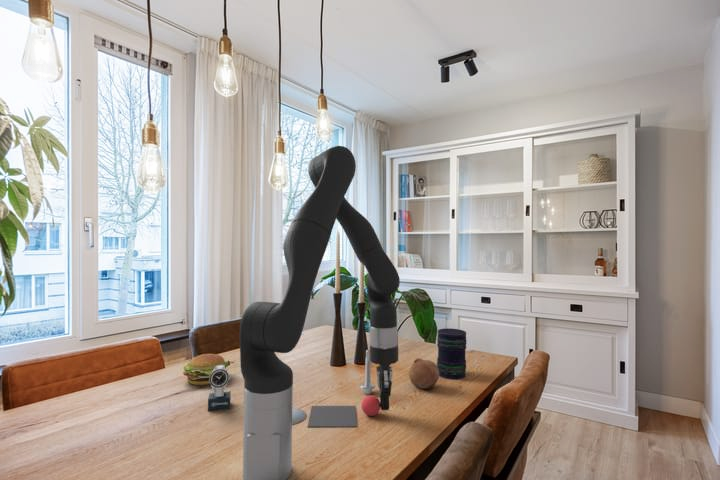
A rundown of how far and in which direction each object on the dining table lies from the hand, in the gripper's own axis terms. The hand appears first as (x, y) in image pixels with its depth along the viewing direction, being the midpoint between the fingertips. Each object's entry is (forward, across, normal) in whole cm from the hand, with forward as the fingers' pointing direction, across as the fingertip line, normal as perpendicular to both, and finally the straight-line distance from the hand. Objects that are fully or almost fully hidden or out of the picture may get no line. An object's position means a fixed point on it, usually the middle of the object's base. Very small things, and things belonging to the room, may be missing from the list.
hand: (384, 408), depth 102 cm
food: (+1, -26, -56) cm, 62 cm away
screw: (+2, -16, -4) cm, 16 cm away
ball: (-1, 0, -4) cm, 4 cm away
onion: (+3, -20, +14) cm, 25 cm away
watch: (+1, -5, -45) cm, 45 cm away
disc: (+1, 0, -26) cm, 26 cm away
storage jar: (+3, -32, +26) cm, 41 cm away
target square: (+1, 0, -14) cm, 14 cm away
